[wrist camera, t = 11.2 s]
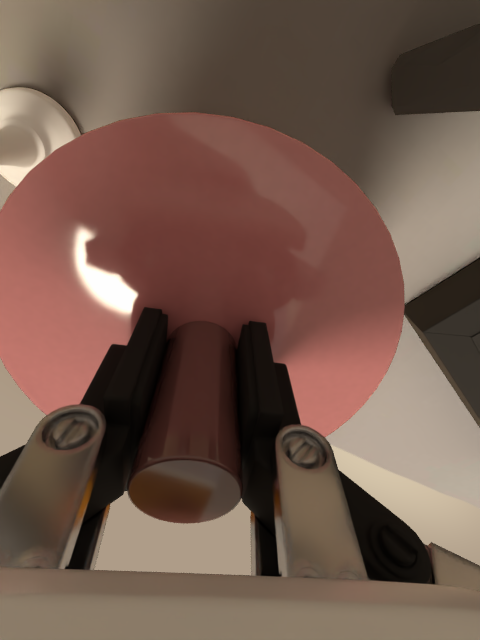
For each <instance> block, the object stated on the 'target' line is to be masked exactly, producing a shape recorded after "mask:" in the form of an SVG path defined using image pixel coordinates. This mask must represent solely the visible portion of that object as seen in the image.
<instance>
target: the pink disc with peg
mask: <svg viewBox="0 0 480 640" xmlns="http://www.w3.org/2000/svg"><path fill="white" fill-rule="evenodd" d="M144 307H148V308H155V309H162V314H167V315H168V327H167V342H166V346H165V350H164V353H163V357H162V361H161V364H160V368H159V371H158V375H157V379H156V382H155V386H154V390H153V393H152V397H151V400H150V404H149V408H148V411H147V415H146V418H145V422H144V426H143V429H142V433H141V437H140V440H139V443H138V447H137V450H136V454H135V457H134V461H133V465H132V468H131V472H130V475H129V479H128V483H127V491H128V496H129V498H130V500H131V502H132V503H133V504H134V505H135V507H137V508H138V509H139V510H140V511H142V512H143V513H145V514H147V515H149V516H151V517H153V518H156V519H159V520H163V521H167V522H173V523H200V522H206V521H210V520H213V519H216V518H219V517H221V516H223V515H225V514H227V513H228V512H230V511H231V510H233V509H234V508H235V507H236V506H237V504H238V503H239V502H240V499H241V497H242V494H243V474H242V452H241V431H240V409H239V386H238V363H237V348H238V343H239V338H240V333H241V328H242V325H243V324H245V325H248V323H249V321H255V322H263V323H266V325H267V330H268V335H269V340H270V345H271V350H272V355H273V360H274V362H275V363H283V364H286V366H287V369H288V373H289V377H290V381H291V385H292V389H293V394H294V398H295V402H296V406H297V410H298V414H299V418H300V422H301V425H304V426H308V427H310V428H312V429H314V430H316V431H318V432H319V433H320V434H321V435H323V436H324V437H326V436H328V435H329V434H331V433H332V432H334V431H335V430H336V429H338V428H339V427H340V426H341V425H343V424H344V423H345V422H346V421H348V420H349V419H350V418H351V417H352V416H353V415H354V414H355V413H356V412H357V411H358V410H359V409H360V408H361V407H362V406H363V405H364V404H365V403H366V401H367V400H368V399H369V398H370V396H371V395H372V394H373V393H374V391H375V390H376V389H377V387H378V385H379V384H380V382H381V381H382V379H383V377H384V376H385V374H386V372H387V371H388V368H389V366H390V364H391V362H392V359H393V357H394V355H395V353H396V349H397V346H398V342H399V339H400V335H401V332H402V325H403V317H404V309H405V304H404V281H403V276H402V271H401V266H400V260H399V257H398V254H397V251H396V248H395V246H394V243H393V240H392V237H391V235H390V232H389V231H388V229H387V227H386V225H385V224H384V222H383V220H382V218H381V216H380V215H379V213H378V211H377V209H376V208H375V206H374V205H373V204H372V203H371V201H370V200H369V199H368V198H367V196H366V195H365V194H364V193H363V191H362V190H361V189H360V188H359V186H358V185H357V184H356V183H355V182H354V181H353V180H352V179H351V178H350V177H348V176H347V175H346V174H345V173H344V172H343V171H342V170H341V169H340V168H339V167H338V166H336V165H335V164H334V163H333V162H332V161H330V160H329V159H327V158H326V157H324V156H323V155H321V154H320V153H318V152H317V151H315V150H314V149H312V148H311V147H309V146H308V145H306V144H305V143H303V142H301V141H299V140H297V139H294V138H292V137H290V136H288V135H286V134H284V133H281V132H279V131H277V130H275V129H273V128H270V127H267V126H264V125H260V124H257V123H253V122H250V121H246V120H243V119H239V118H236V117H230V116H222V115H214V114H206V113H198V112H183V113H156V114H150V115H145V116H140V117H134V118H129V119H124V120H119V121H116V122H114V123H111V124H108V125H105V126H103V127H100V128H97V129H94V130H92V131H89V132H86V133H84V134H82V135H81V136H79V137H77V138H75V139H74V140H72V141H70V142H68V143H67V144H65V145H63V146H61V147H60V148H58V149H56V150H55V151H53V152H52V153H51V154H50V155H48V156H47V157H46V158H45V159H44V160H42V161H41V162H40V163H39V164H38V165H36V166H35V167H34V168H33V169H32V170H30V171H29V172H28V174H27V175H26V176H25V177H24V178H23V180H22V181H21V182H20V183H19V184H18V186H17V187H16V188H15V189H14V190H13V192H12V193H11V194H10V195H9V197H8V199H7V200H6V202H5V204H4V206H3V207H2V209H1V211H0V358H1V360H2V362H3V364H4V366H5V368H6V369H7V371H8V372H9V373H10V375H11V376H12V378H13V379H14V381H15V382H16V383H17V385H18V386H19V388H20V389H21V390H22V391H23V392H24V393H25V394H26V396H27V397H28V398H29V399H30V400H31V401H32V402H33V403H34V404H35V405H36V406H37V407H38V408H39V409H40V410H41V411H42V412H43V413H45V414H46V415H48V414H49V413H50V412H52V411H54V410H56V409H59V408H61V407H64V406H68V405H75V404H80V402H81V401H82V399H83V397H84V395H85V393H86V391H87V389H88V387H89V385H90V383H91V382H92V380H93V378H94V376H95V374H96V372H97V370H98V368H99V366H100V364H101V363H102V361H103V359H104V357H105V355H106V353H107V351H108V349H109V347H110V346H111V345H112V344H119V345H127V344H128V342H129V339H130V337H131V335H132V333H133V331H134V328H135V326H136V324H137V322H138V320H139V317H140V315H141V313H142V311H143V309H144Z"/></svg>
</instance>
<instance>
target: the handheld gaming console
mask: <svg viewBox="0 0 480 640" xmlns="http://www.w3.org/2000/svg"><path fill="white" fill-rule="evenodd" d="M392 108H393V110H394V113H395V115H404V114H424V113H444V112H465V111H480V24H477V25H475V26H472V27H470V28H467V29H465V30H462V31H460V32H457V33H454V34H452V35H449V36H447V37H444V38H442V39H439V40H436V41H434V42H431V43H429V44H426V45H424V46H421V47H419V48H416V49H413V50H411V51H408V52H406V53H403V54H401V55H400V56H399V58H398V59H397V61H396V62H395V64H394V65H393V67H392Z"/></svg>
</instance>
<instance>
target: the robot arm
mask: <svg viewBox="0 0 480 640" xmlns="http://www.w3.org/2000/svg"><path fill="white" fill-rule="evenodd" d="M167 327H168V315H167V314H162V309H155V308H148V307H144V309H143V311H142V313H141V315H140V317H139V320H138V322H137V324H136V326H135V328H134V331H133V333H132V335H131V337H130V339H129V342H128V344H127V345H119V344H112V345H111V346H110V347H109V349H108V351H107V353H106V355H105V357H104V359H103V361H102V363H101V364H100V366H99V368H98V370H97V372H96V374H95V376H94V378H93V380H92V382H91V383H90V385H89V387H88V389H87V391H86V393H85V395H84V397H83V399H82V401H81V402H80V404H75V405H68V406H64V407H61V408H59V409H56V410H54V411H52V412H50V413H49V414H48V415H47V416H45V417H44V418H43V419H42V420H41V421H40V422H39V424H38V425H37V426H36V428H35V430H34V431H33V433H32V435H31V437H30V438H29V440H28V442H27V444H26V445H24V446H22V447H19V448H18V449H16V450H13V451H11V452H9V453H7V454H5V455H3V456H1V457H0V640H480V566H479V565H477V564H475V563H473V562H471V561H469V560H467V559H464V558H462V557H461V556H459V555H457V554H454V553H452V552H450V551H448V550H446V549H444V548H442V547H440V546H438V545H436V544H433V543H432V542H431V543H430V544H429V545H428V546H427V545H425V544H423V543H422V541H421V540H420V539H419V537H418V535H417V534H416V533H415V532H414V531H413V530H412V529H411V528H410V527H409V526H408V525H407V524H406V523H404V522H403V521H402V520H401V519H400V518H398V517H397V516H396V515H394V514H393V513H392V512H391V511H390V510H388V509H387V508H386V507H385V506H383V505H382V504H381V503H380V502H378V501H377V500H375V499H374V498H373V497H372V496H371V495H369V494H368V493H367V492H366V491H364V490H363V489H362V488H361V487H359V486H358V485H357V484H356V483H354V482H353V481H352V480H351V479H349V478H348V477H347V476H345V475H344V474H343V473H342V472H341V471H339V470H338V467H337V464H336V460H335V457H334V453H333V450H332V448H331V446H330V444H329V442H328V441H327V440H326V438H325V437H324V436H323V435H321V434H320V433H319V432H318V431H316V430H314V429H312V428H310V427H308V426H304V425H301V422H300V418H299V414H298V410H297V406H296V402H295V398H294V394H293V389H292V385H291V381H290V377H289V373H288V369H287V366H286V364H283V363H275V362H274V360H273V355H272V350H271V345H270V340H269V335H268V330H267V325H266V323H263V322H255V321H249V323H248V325H245V324H243V325H242V328H241V333H240V338H239V343H238V348H237V363H238V386H239V409H240V431H241V452H242V474H243V494H242V497H241V498H242V501H243V503H244V504H245V505H246V506H247V507H248V508H249V509H250V510H251V516H250V519H251V520H250V521H251V576H249V575H222V574H220V575H219V574H194V573H165V572H136V571H107V570H94V568H95V564H96V560H97V556H98V553H99V548H100V545H101V541H102V537H103V533H104V529H105V525H106V521H107V518H108V513H109V509H110V503H112V502H113V501H115V500H116V499H118V498H119V497H120V496H122V495H123V493H124V491H127V483H128V479H129V475H130V472H131V468H132V465H133V461H134V457H135V454H136V450H137V447H138V443H139V440H140V437H141V433H142V429H143V426H144V422H145V418H146V415H147V411H148V408H149V404H150V400H151V397H152V393H153V390H154V386H155V382H156V379H157V375H158V371H159V368H160V364H161V361H162V357H163V353H164V350H165V346H166V342H167Z"/></svg>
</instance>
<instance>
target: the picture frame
mask: <svg viewBox="0 0 480 640" xmlns="http://www.w3.org/2000/svg"><path fill="white" fill-rule="evenodd" d="M404 315H405V316H406V318H407V319H408V321H409V322H410V324H411V325H412V327H413V328H414V330H415V331H416V333H417V334H418V336H419V337H420V339H421V340H422V342H423V343H424V345H425V346H426V348H427V349H428V351H429V352H430V354H431V355H432V357H433V358H434V360H435V361H436V363H437V364H438V366H439V367H440V369H441V370H442V372H443V373H444V375H445V376H446V378H447V379H448V381H449V382H450V384H451V385H452V387H453V388H454V390H455V391H456V393H457V394H458V396H459V397H460V399H461V400H462V402H463V403H464V405H465V406H466V408H467V409H468V411H469V412H470V414H471V415H472V417H473V418H474V420H475V421H476V423H477V424H478V426H479V427H480V259H479V260H477V261H475V262H474V263H472V264H471V265H469V266H467V267H466V268H464V269H463V270H461V271H459V272H458V273H456V274H455V275H453V276H451V277H450V278H448V279H447V280H445V281H444V282H442V283H440V284H439V285H437V286H436V287H434V288H432V289H431V290H429V291H428V292H426V293H424V294H423V295H421V296H420V297H418V298H417V299H415V300H413V301H412V302H410V303H409V304H407V305H405V309H404Z"/></svg>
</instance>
